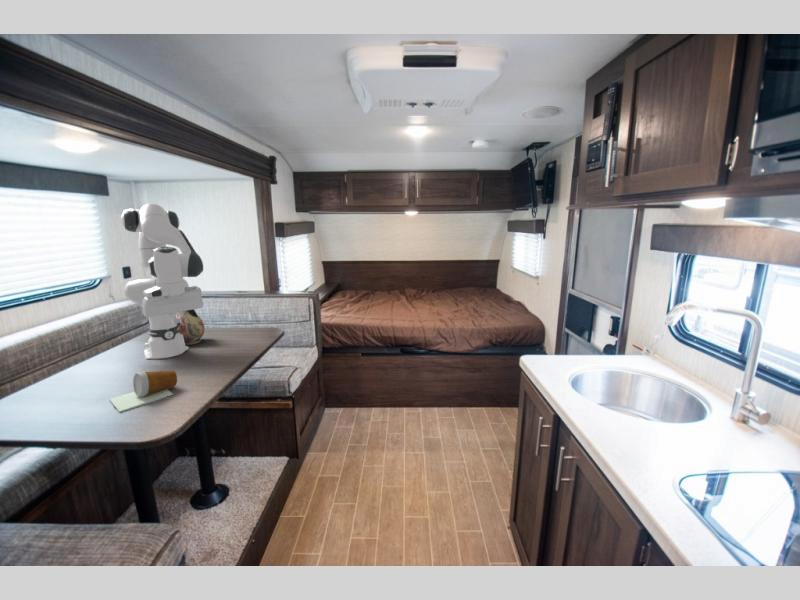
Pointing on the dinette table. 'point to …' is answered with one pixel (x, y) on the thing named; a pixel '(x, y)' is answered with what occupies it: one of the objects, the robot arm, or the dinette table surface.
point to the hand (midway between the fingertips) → (176, 323)
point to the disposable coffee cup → (153, 381)
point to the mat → (137, 400)
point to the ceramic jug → (191, 327)
